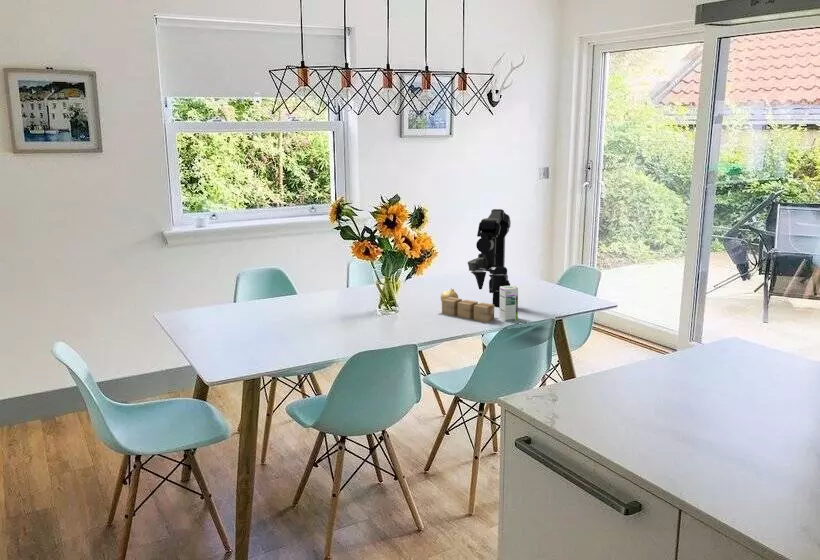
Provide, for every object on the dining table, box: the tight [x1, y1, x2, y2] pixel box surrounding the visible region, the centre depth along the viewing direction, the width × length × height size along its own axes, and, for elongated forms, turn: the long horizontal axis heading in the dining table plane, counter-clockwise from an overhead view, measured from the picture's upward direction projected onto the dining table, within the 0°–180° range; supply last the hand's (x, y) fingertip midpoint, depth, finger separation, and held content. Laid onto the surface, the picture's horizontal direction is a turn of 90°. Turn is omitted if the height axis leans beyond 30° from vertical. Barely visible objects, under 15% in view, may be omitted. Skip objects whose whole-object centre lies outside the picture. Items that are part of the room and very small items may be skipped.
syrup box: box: [499, 285, 519, 322], centre depth 280 cm, size 6×6×14 cm
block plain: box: [458, 299, 479, 319], centre depth 286 cm, size 6×6×6 cm
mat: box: [437, 312, 500, 325], centre depth 287 cm, size 10×24×1 cm, turn 51°
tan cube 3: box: [441, 297, 463, 316], centre depth 291 cm, size 6×6×6 cm
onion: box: [440, 288, 459, 302], centre depth 310 cm, size 8×8×7 cm
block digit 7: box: [474, 302, 495, 322], centre depth 281 cm, size 6×6×6 cm
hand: (486, 290), depth 275 cm, fingers open, 9 cm apart
